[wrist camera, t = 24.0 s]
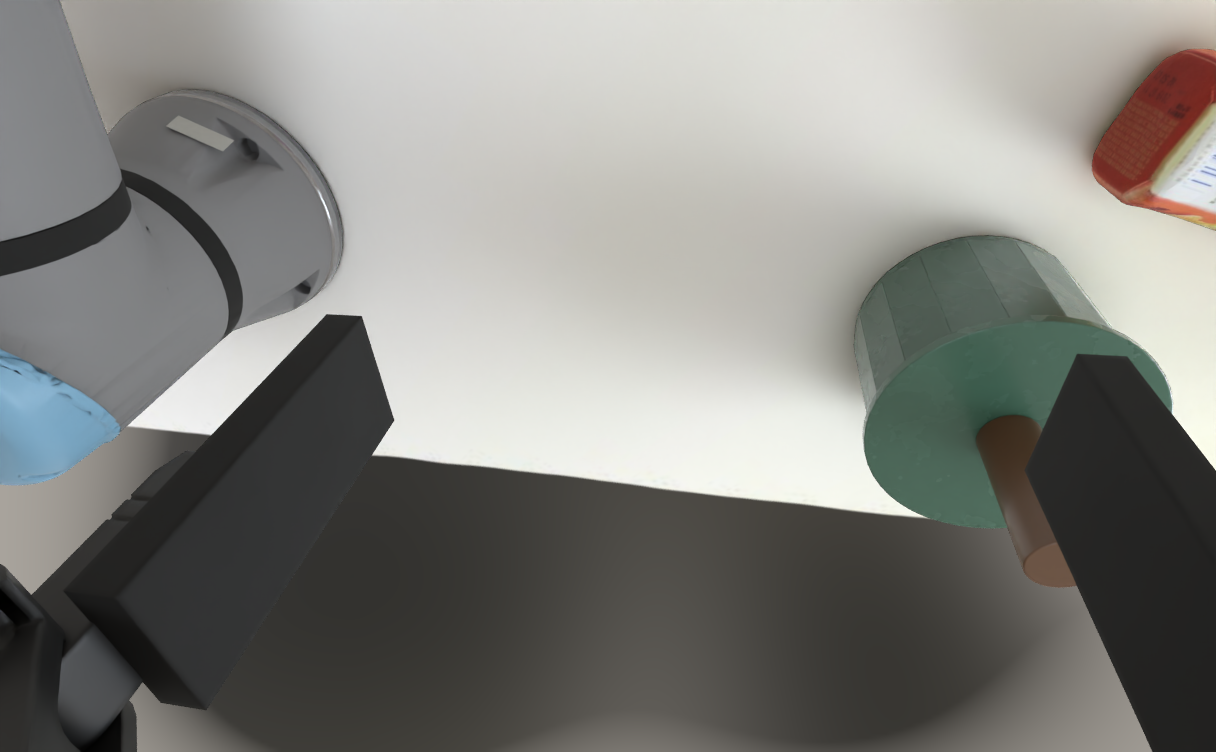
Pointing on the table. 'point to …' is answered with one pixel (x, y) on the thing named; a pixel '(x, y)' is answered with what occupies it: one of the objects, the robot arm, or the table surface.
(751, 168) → the table surface
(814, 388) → the table surface
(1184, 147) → the snack package
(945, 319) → the tin
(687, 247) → the table surface
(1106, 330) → the lid
